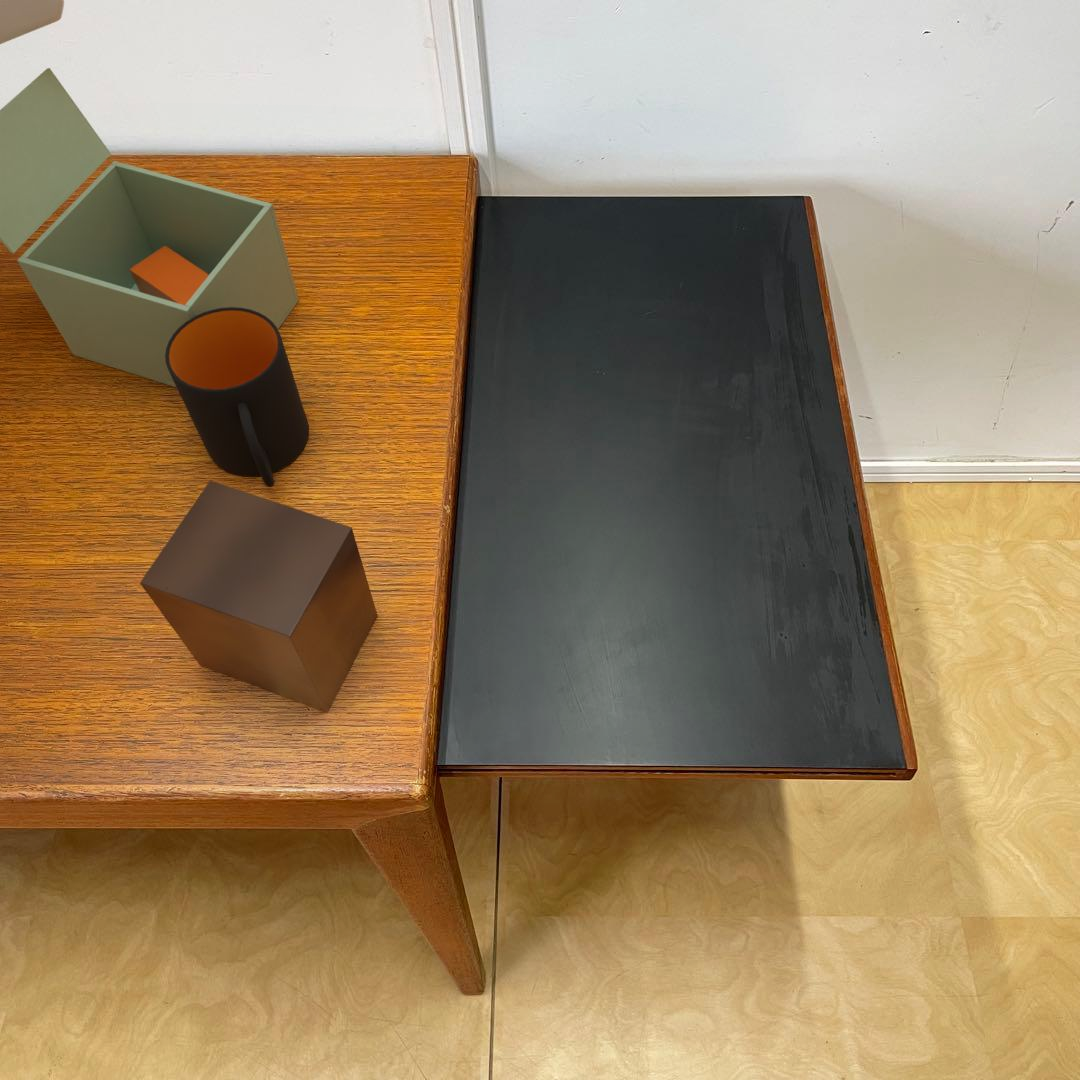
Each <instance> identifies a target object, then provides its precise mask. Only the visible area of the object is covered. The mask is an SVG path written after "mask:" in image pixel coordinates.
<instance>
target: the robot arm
mask: <svg viewBox="0 0 1080 1080" xmlns="http://www.w3.org/2000/svg"><path fill="white" fill-rule="evenodd" d="M64 7H65V0H0V45H3V44H5V43H7V42H9V41H13V40H15V39H17V38H20V37H22V36H24V35H27V34H30V33H32V32H35V31H38V30H40V29H41V28H44V27H47V26H49V25H51V24H54V23H56V22H58V21H60V20H61V19H62V16H63V12H64Z"/></svg>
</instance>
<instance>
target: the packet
mask: <svg viewBox="0 0 1080 1080" xmlns="http://www.w3.org/2000/svg"><path fill="white" fill-rule="evenodd" d="M130 272H131V274H132V276H133V278H134V280H135V282H136V285H137V287H138V289H139V291H140V292H141V293H145V294H148V295H152V296H155V297H158V298H162V299H165V300H168V301H172V302H175V303H178V304H182V305H185V304H186V303H187V302H188V301H189V299H190V298H191V297H192V296H193V294H194V293H195V292H196V291H197V289H198V288H199V287H200V286H201V284H202V283H203V282H204V281H205V280H206V278H207V277H208V276H209V274H207V273H206V272H204V271H203V270H201V269H200V268H198V267H197V266H195V265H194V264H192V263H191V262H189V261H188V260H186V259H185V258H183V257H182V256H180V255H179V254H177V253H176V252H174V251H173V250H171V249H170V248H168V247H167V246H164V247H162V248H161V249H159V250H158V251H156V252H155V253H153V254H152V255H150V256H149V257H147V258H146V259H144V260H143V261H141V262H140V263H138V264H137V265H135V266H134V267H132V268H131V269H130Z"/></svg>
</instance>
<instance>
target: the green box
mask: <svg viewBox="0 0 1080 1080" xmlns="http://www.w3.org/2000/svg"><path fill="white" fill-rule="evenodd" d="M164 246H167V247H168V248H170V249H171V250H173V251H174V252H176V253H177V254H179V255H180V256H182V257H183V258H185V259H186V260H188V261H189V262H191V263H192V264H194V265H195V266H197V267H198V268H200V269H201V270H203V271H204V272H206V273H207V274H209V276H208V277H207V278H206V280H205V281H204V282H203V283H202V284H201V286H200V287H199V288H198V289H197V291H196V292H195V293H194V294H193V296H192V297H191V298H190V299H189V301H188V302H187V303H186V304H185V305H182V304H178V303H175V302H172V301H168V300H165V299H162V298H158V297H155V296H152V295H148V294H145V293H141V292H140V291H139V289H138V287H137V285H136V282H135V280H134V278H133V276H132V274H131V272H130V269H131V268H132V267H134V266H135V265H137V264H138V263H140V262H141V261H143V260H144V259H146V258H147V257H149V256H150V255H152V254H153V253H155V252H156V251H158V250H159V249H161V248H162V247H164ZM16 262H17V263H18V265H19V267H20V269H21V270H22V272H23V273H24V275H25V277H26V278H27V280H28V281H29V283H30V286H32V288H33V290H34V291H35V293H36V295H37V296H38V299H39V300H40V302H41V304H42V305H43V307H44V308H45V310H46V311H47V314H48V315H49V317H50V318H51V320H52V322H53V323H54V325H55V327H56V328H57V330H58V332H59V334H60V336H62V338H63V340H64V342H65V343H66V345H67V347H68V348H69V350H70V351H71V353H72V355H73V356H75V357H78V358H81V359H85V360H87V361H90V362H94V363H98V364H100V365H104V366H107V367H110V368H113V369H116V370H120V371H122V372H126V373H128V374H132V375H135V376H139V377H142V378H145V379H149V380H151V381H154V382H158V383H161V384H163V385H166V386H167V385H168V386H171V387H173V388H176V389H177V387H176V385H175V383H174V381H173V379H172V377H171V375H170V372H169V370H168V368H167V365H166V360H165V353H166V347H167V345H168V342H169V340H170V338H171V337H172V335H173V334H174V333H175V331H176V330H177V329H178V328H179V327H180V326H181V325H183V324H184V323H185V322H186V321H188V320H190V319H191V318H193V317H195V316H197V315H199V314H201V313H203V312H207V311H210V310H213V309H219V308H227V307H237V308H245V309H250V310H253V311H256V312H259V313H261V314H263V315H264V316H266V317H267V318H269V319H270V320H271V321H272V322H273V323H274V324H275V326H276V327H277V329H278V330H279V329H280V327H281V326H282V325H283V324H284V322H285V321H286V319H287V318H288V317H289V315H290V314H291V313H292V311H293V310H294V308H295V307H296V305H297V304H298V302H299V301H300V299H299V295H298V291H297V286H296V283H295V279H294V276H293V272H292V269H291V265H290V262H289V258H288V256H287V250H286V248H285V244H284V239H283V237H282V233H281V229H280V225H279V222H278V218H277V214H276V212H275V208H274V204H273V203H271V202H268V201H264V200H260V199H256V198H252V197H249V196H245V195H242V194H237V193H234V192H230V191H227V190H222V189H220V188H216V187H213V186H208V185H204V184H200V183H197V182H194V181H190V180H186V179H182V178H179V177H175V176H171V175H168V174H164V173H161V172H157V171H153V170H149V169H145V168H142V167H138V166H134V165H132V164H131V165H130V164H128V163H124V162H120V161H116V160H113V161H112V162H111V164H109V165H108V166H107V167H106V168H105V169H104V170H103V172H101V173H100V175H99V176H97V178H95V180H94V181H93V182H92V183H91V184H90V185H88V187H87V188H86V189H85V190H84V191H83V192H82V193H81V194H80V195H79V196H78V197H76V199H75V200H74V201H73V202H72V203H71V204H70V205H69V206H68V207H67V208H66V209H65V210H64V211H63V212H62V213H61V214H60V216H59V217H58V218H57V219H55V221H53V223H52V224H51V225H49V227H48V228H47V229H46V230H45V231H44V232H43V233H42V234H41V235H40V236H39V237H38V238H37V239H36V240H35V241H34V242H33V243H32V244H31V245H30V246H29V247H28V249H26V250H25V251H24V253H22V255H21V256H20V257H19V258H17V260H16Z"/></svg>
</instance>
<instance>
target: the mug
mask: <svg viewBox="0 0 1080 1080" xmlns="http://www.w3.org/2000/svg"><path fill="white" fill-rule="evenodd" d="M165 360H166V365H167V368H168V370H169V372H170V375H171V377H172V379H173V381H174V383H175V385H176V387H177V388H176V387H175V388H176V390H177V392H178V393H179V394H178V395H180V398H181V399H182V402H183V404H184V406H185V409H186V410H187V412H188V414H189V416H190V418H191V421H192V423H193V425H194V427H195V430H196V431H197V433H198V435H199V437H200V439H201V441H202V444H203V445H204V448H205V450H206V451H207V455H208V456H209V458H210V459H211V460H212V462H213V463H214V464H215V465H216V466H217V467H218V468H220V469H222V470H223V471H225V473H226V472H227V473H229V474H232V475H234V476H239V477H249V478H254V477H261V479H262V482H263V484H264V486H266V488H272V487H274V485H275V477H274V475H273V473H277V472H279V471H281V470H283V469H285V468H286V467H288V466H289V465H290V464H292V463H293V462H294V461H295V460H296V459H297V458H298V457H299V456H300V455H301V453H302V452H303V451H304V449H305V447H306V446H307V443H308V441H309V440H308V439H309V436H310V427H309V421H308V418H307V416H306V412H305V409H304V405H303V403H302V399H301V396H300V392H299V389H298V386H297V383H296V380H295V376H294V374H293V370H292V367H291V364H290V360H289V357H288V355H287V352H286V347H285V344H284V342H283V338H282V336H281V333H280V331H279V329H277V327H276V326H275V324H274V323H273V322H272V321H271V320H270V319H269V318H267V317H266V316H264V315H263V314H261V313H259V312H256V311H253V310H250V309H245V308H237V307H227V308H219V309H213V310H210V311H207V312H203V313H201V314H199V315H197V316H195V317H193V318H191V319H190V320H188V321H186V322H185V323H184V324H183V325H181V326H180V327H179V328H178V329H177V330H176V331H175V333H174V334H173V335H172V337H171V338H170V340H169V342H168V345H167V347H166V353H165Z"/></svg>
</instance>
